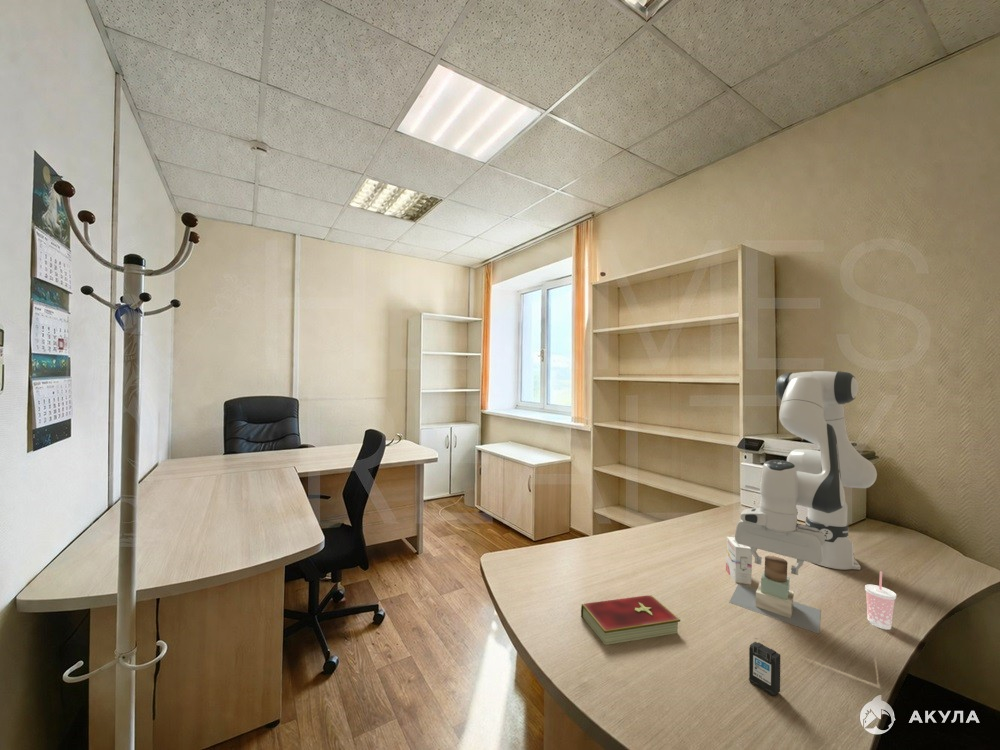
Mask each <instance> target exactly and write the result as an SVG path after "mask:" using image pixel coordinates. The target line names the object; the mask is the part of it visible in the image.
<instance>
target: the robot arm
mask: <svg viewBox="0 0 1000 750" xmlns="http://www.w3.org/2000/svg"><path fill="white" fill-rule="evenodd" d="M775 393H776V395H777V398H778V399H780V400H781V402H780V407H779V412H778V413H779V414H778V416H779V418H778V419H779V422H780V424H781V425H782V427H783V428H784V429H785V430H786V431H788V432H789V433H791V434H792V435H794V436H796V437H798V438H801V439H802V440H805V441H808V442H809V443H812V444H814V445H816V447H818V448H819V450H817V449H810V448H798V449H796V448H795V449H793V450H791V451H790V452H789V453H788V456H787V457H786V460H783V459H782V460H781V459H770V460H766V461H765V462H764V463H763V466H762V469H761V475H760V482H759V492H760V493H759V494H760V498H761V499H760V502H759V503H758V504H759V507H756V508H755V507H752V508H745V509H743V510H742V511H741V513H740V520H738V522H737V524H736V528H735V534H734V537H735V540H736V542H737V543H738V544H741V545H745V546H749V547H751V552H752V557H754V564H757V565H762V559H763V557H762V556H759V554H758V550H761V551H765V552H768V553H773V554H776V555H780V556H782V557H783V556H784V557H788V558H792V559H795V560H796V565H791V568H790V569H791V571H790V574H791V575H796V576H798V575H799V569H800V568H801V567H803V565H804V562H807V563H811V564H814V565H818V566H822V567H826V568H830V569H834V570H845V571H846V570H859V571H860V570H861V569H862V568H861V565H860V564H859V562H858V561H857V559H856V558H855V557H854V556H855V553H854V547H855V546H854V543H853V541H851V539H850V538H849V532H850V529H849V524H848V504H847V502H846V494H845V493H846V492H845V489H844V487H845V488H851V489H853V488H854V489H868V488H870V487H872V486H873V485H874V483H876V481H877V478H878V477H877V476H878V472H877V469H876V467H875V465H874V464H873V462H871V461H870V460H869V459H867V458H866V457H864V456H863V455H861V454H860V452H859V451H858V450H856V448H855V447H854V446H853V444H852V443H851V441H850V438H849V436H848V432H847V425H846V414H845V408H844V407H845V406H844V405H845V404H849V403H851V402H853V401H854V400H855V399H856V397H857V395H858V393H859V384H858V381H857V379H856V376H854V375H853V374H852V373H851V372H847V371H840V370H838V371H826V370H823V371H822V370H813V371H800V372H786V373H783V374H781V375H780V376H778V377H777V379H776V382H775ZM797 506H800V507H801V506H802V507H806V508H807V516H806V517H805V524H801V523H798V508H797Z"/></svg>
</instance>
